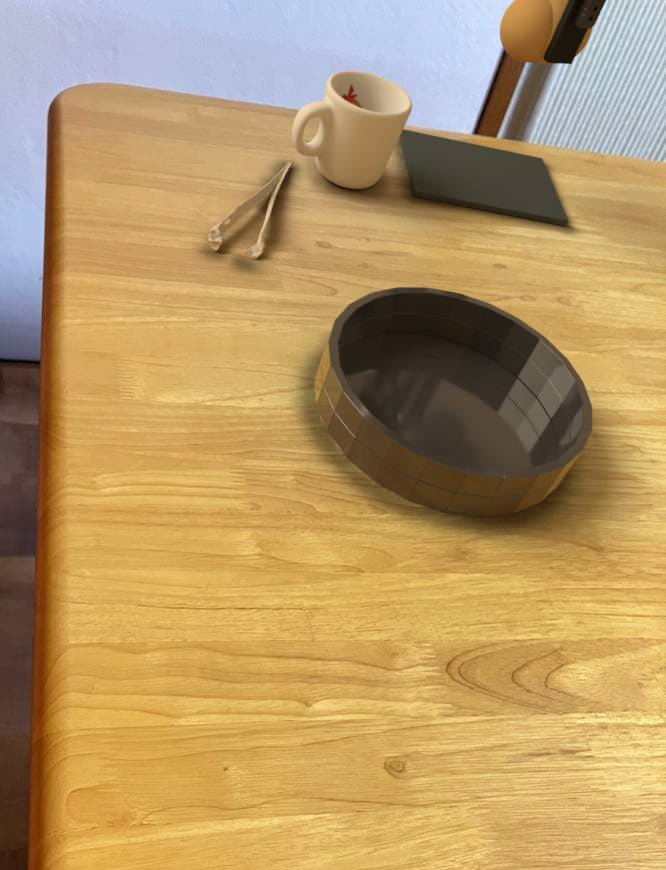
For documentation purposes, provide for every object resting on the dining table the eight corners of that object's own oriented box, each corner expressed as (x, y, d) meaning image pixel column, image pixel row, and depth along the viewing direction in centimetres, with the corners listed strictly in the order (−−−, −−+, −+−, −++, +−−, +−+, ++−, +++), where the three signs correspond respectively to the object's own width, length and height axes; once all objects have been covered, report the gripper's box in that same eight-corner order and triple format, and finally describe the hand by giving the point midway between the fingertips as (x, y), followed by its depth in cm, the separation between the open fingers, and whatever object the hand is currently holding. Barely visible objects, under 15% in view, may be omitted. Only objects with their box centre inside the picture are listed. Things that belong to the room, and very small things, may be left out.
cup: (299, 201, 80) (323, 115, 74) (265, 153, 84) (284, 68, 78) (399, 197, 84) (428, 115, 78) (362, 151, 88) (387, 70, 82)
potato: (553, 47, 83) (581, -15, 79) (584, 76, 81) (615, 13, 76) (479, 42, 80) (504, -23, 76) (509, 72, 77) (536, 6, 73)
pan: (532, 353, 73) (557, 310, 70) (590, 537, 61) (624, 495, 58) (306, 315, 70) (321, 268, 66) (320, 502, 58) (339, 455, 54)
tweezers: (257, 267, 72) (262, 245, 71) (203, 248, 73) (207, 225, 71) (309, 185, 84) (315, 165, 83) (263, 169, 85) (268, 148, 83)
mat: (539, 163, 95) (542, 158, 95) (565, 226, 88) (568, 221, 87) (399, 134, 92) (401, 128, 92) (413, 196, 85) (415, 190, 85)
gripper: (577, -347, 65) (456, -6, 83) (735, -272, 55) (560, 96, 73) (653, -326, 68) (520, 0, 86) (816, -250, 58) (629, 98, 76)
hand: (539, 43), depth 79 cm, fingers closed on potato, 5 cm apart
